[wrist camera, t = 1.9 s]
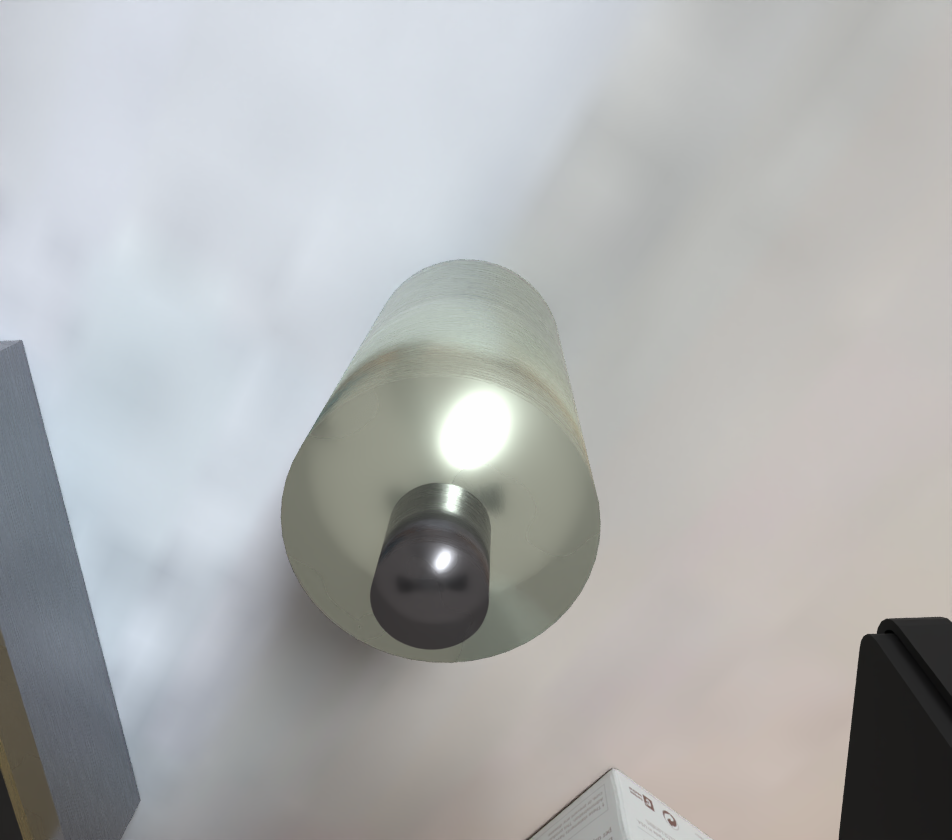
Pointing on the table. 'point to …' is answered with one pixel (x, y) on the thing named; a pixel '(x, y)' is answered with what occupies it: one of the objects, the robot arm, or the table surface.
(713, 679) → the table surface
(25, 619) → the grey and gold box
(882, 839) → the robot arm
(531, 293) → the pale green bottle
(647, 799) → the supplement box
